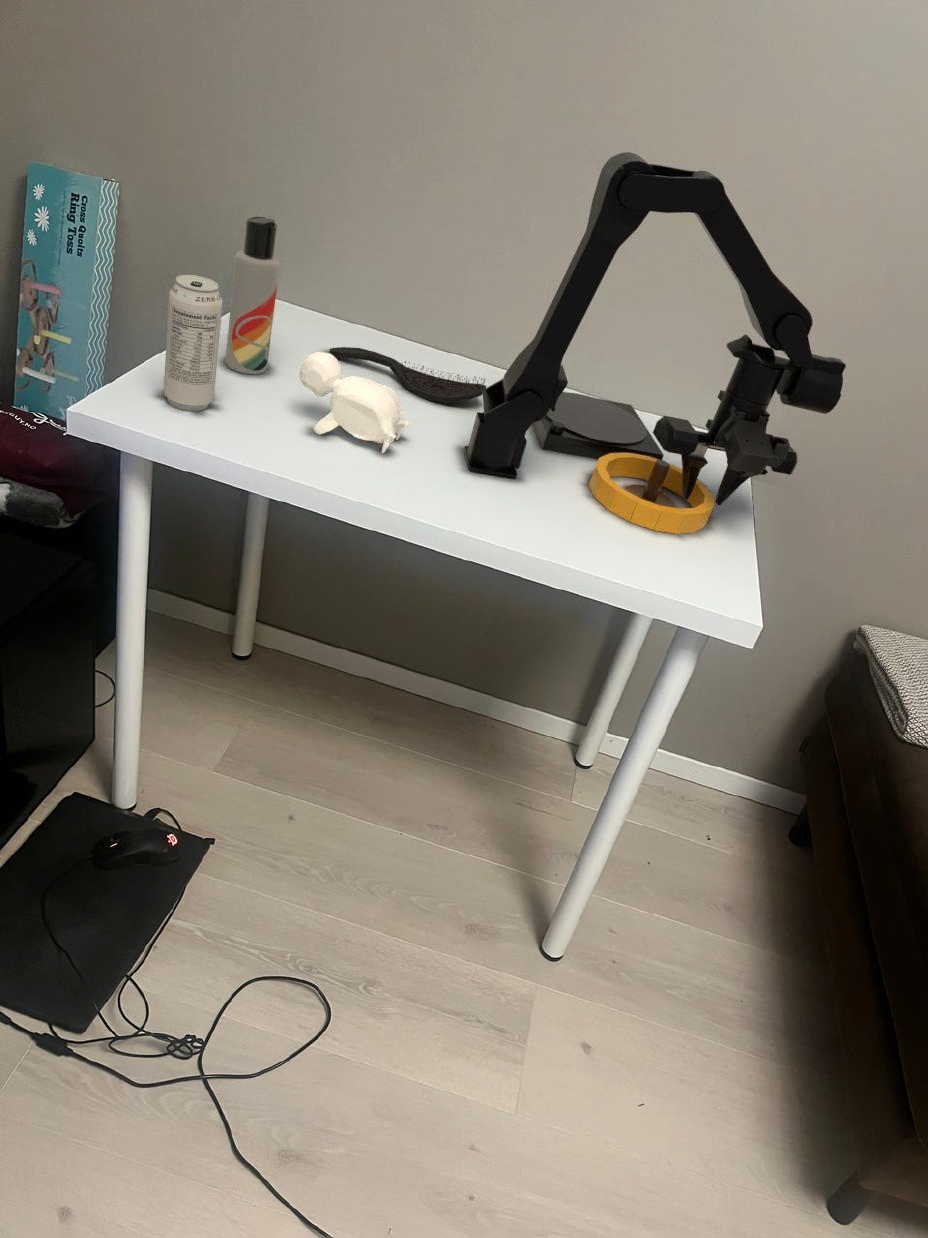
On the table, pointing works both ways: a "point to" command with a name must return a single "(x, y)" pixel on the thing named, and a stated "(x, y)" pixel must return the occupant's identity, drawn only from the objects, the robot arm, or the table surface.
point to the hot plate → (594, 428)
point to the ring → (645, 510)
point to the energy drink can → (192, 342)
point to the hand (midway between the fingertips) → (701, 501)
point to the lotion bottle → (253, 299)
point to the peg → (653, 486)
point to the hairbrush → (417, 377)
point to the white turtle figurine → (353, 401)
